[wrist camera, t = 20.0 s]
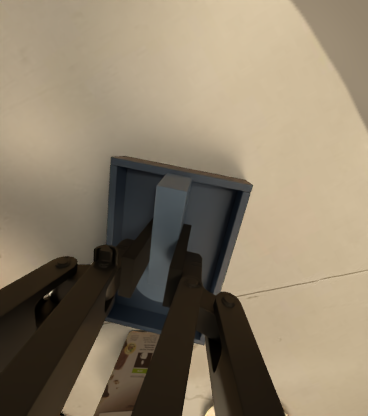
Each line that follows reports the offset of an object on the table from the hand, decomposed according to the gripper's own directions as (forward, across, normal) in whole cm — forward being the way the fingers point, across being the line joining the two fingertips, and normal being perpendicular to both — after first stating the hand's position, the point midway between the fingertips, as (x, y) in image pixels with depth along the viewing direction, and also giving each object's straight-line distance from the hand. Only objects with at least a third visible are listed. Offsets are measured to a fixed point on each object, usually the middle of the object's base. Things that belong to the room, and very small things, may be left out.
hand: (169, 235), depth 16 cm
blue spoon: (0, 0, -1) cm, 1 cm away
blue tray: (+2, 0, -3) cm, 3 cm away
